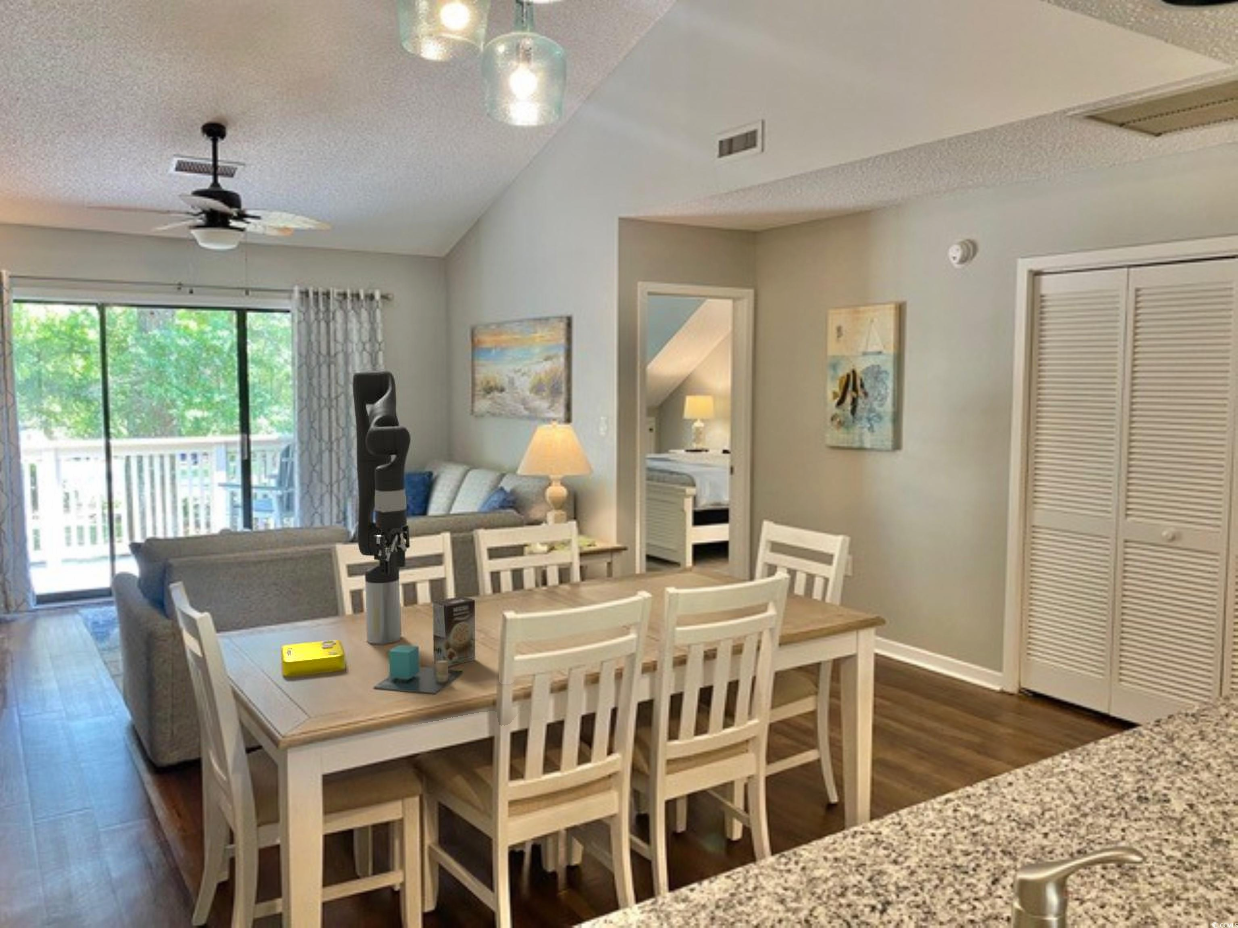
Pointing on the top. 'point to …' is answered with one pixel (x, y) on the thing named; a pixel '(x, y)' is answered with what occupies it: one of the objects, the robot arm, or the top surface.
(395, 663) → the teal toy cube
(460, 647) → the coffee box
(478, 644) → the top surface
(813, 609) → the top surface
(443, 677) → the birch peg
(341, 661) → the element tile
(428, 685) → the grey square base plate
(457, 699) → the top surface
